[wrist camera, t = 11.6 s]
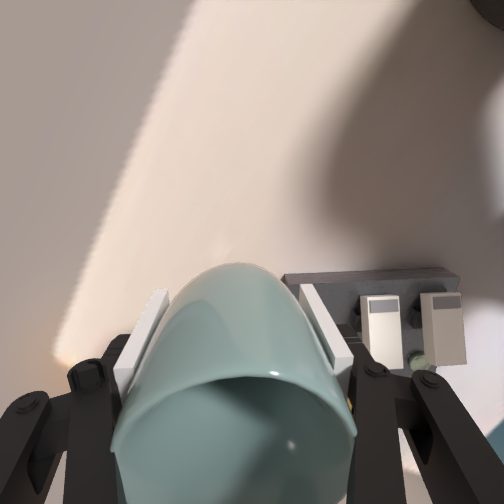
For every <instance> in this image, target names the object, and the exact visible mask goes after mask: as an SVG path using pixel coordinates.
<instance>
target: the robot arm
mask: <svg viewBox="0 0 504 504" xmlns="http://www.w3.org/2000/svg"><path fill="white" fill-rule="evenodd" d="M471 1H472V3H473V5H474V6H475V8H476V9H477V10H478V11H479V13H480V14H481V15H482V16H483V17H484V18H485V19H487V20H488V21H489V22H490V23H492V24H493V25H495V26H497V27H499V28H501V29H504V0H471ZM299 303H300V304H301V306H302V307H303V309H304V311H305V312H306V314H307V316H308V318H309V320H310V322H311V324H312V326H313V328H314V330H315V332H316V334H317V336H318V338H319V340H320V342H321V344H322V346H323V348H324V351H325V353H326V355H327V357H328V359H329V361H330V364H331V366H332V368H333V370H334V373H335V375H336V377H337V379H338V382H339V384H340V386H341V388H342V391H343V393H344V395H345V398H346V400H348V398H349V401H350V403H351V405H352V408H351V412H352V415H353V418H354V421H355V424H356V428H357V435H356V438H355V443H354V448H353V453H352V459H351V464H350V471H349V478H348V485H347V501H346V504H407V503H406V495H405V487H404V478H403V469H402V461H401V452H400V444H399V435H398V428H402V429H403V432H404V434H405V437H406V439H407V442H408V444H409V447H410V449H411V451H412V454H413V456H414V459H415V461H416V464H417V466H418V468H419V471H420V473H421V476H422V478H423V481H424V483H425V485H426V488H427V490H428V493H429V495H430V498H431V500H432V503H433V504H504V465H503V463H502V462H501V460H500V459H499V457H498V456H497V454H496V453H495V451H494V450H493V448H492V447H491V445H490V444H489V443H488V441H487V439H486V438H485V437H484V435H483V434H482V432H481V431H480V429H479V428H478V426H477V425H476V423H475V422H474V420H473V419H472V417H471V416H470V414H469V413H468V411H467V410H466V409H465V407H464V406H463V404H462V403H461V401H460V400H459V398H458V397H457V395H456V394H455V392H454V391H453V389H452V388H451V386H450V385H449V384H448V382H447V381H446V380H445V379H444V378H443V377H441V376H440V375H438V374H437V373H434V372H432V371H429V370H416V371H414V372H413V374H412V377H411V378H410V377H404V376H399V375H395V374H392V373H390V370H389V369H388V368H387V367H386V366H384V365H383V364H381V363H379V362H376V361H375V360H374V359H373V357H372V356H371V354H370V353H369V351H368V350H367V348H366V347H365V345H364V344H363V343H362V340H361V339H360V338H359V336H358V334H357V333H356V331H355V330H354V329H353V328H351V327H350V326H349V325H347V324H335V323H334V321H333V320H332V318H331V316H330V314H329V313H328V311H327V309H326V307H325V306H324V304H323V302H322V300H321V299H320V297H319V295H318V293H317V292H316V290H315V288H314V286H313V284H300V291H299ZM169 305H170V303H169V295H168V289H155V290H154V292H153V294H152V296H151V298H150V299H149V301H148V303H147V305H146V307H145V309H144V311H143V313H142V315H141V317H140V318H139V320H138V322H137V324H136V326H135V328H134V330H133V332H132V334H120V335H118V336H117V337H116V338H115V339H114V340H112V341H111V343H110V344H109V346H108V348H107V350H106V351H105V353H104V354H103V356H102V358H101V359H96V358H93V359H87V360H84V361H82V362H79V363H78V364H76V365H75V366H73V367H72V368H71V369H70V370H69V372H68V374H67V378H68V381H69V385H70V388H71V392H70V393H67V394H64V395H61V396H57V397H54V398H50V399H49V396H48V394H47V393H46V392H44V391H34V392H31V393H27V394H25V395H23V396H21V397H19V398H18V399H16V400H15V401H14V402H12V403H11V405H10V406H9V407H8V408H7V409H6V411H5V412H4V414H3V415H2V417H1V419H0V504H44V502H45V500H46V497H47V494H48V492H49V489H50V486H51V484H52V481H53V478H54V476H55V473H56V470H57V467H58V465H59V462H60V459H61V456H62V454H63V452H64V451H66V450H67V459H66V470H65V484H64V495H63V504H127V502H126V497H125V492H124V488H123V483H122V479H121V474H120V470H119V466H118V463H117V459H116V456H115V452H112V453H111V451H110V444H111V439H112V436H113V433H114V429H115V426H116V423H117V420H118V417H119V414H120V411H121V409H122V406H123V403H124V401H125V398H126V396H127V393H128V391H129V388H130V386H131V384H132V381H133V379H134V376H135V374H136V372H137V369H138V367H139V364H140V362H141V360H142V357H143V355H144V353H145V350H146V348H147V346H148V344H149V341H150V339H151V337H152V335H153V333H154V331H155V329H156V327H157V325H158V323H159V321H160V319H161V318H162V316H163V314H164V313H165V311H166V309H167V308H168V306H169Z"/></svg>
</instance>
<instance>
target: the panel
mask: <svg viewBox="0 0 504 504" xmlns="http://www.w3.org/2000/svg"><path fill="white" fill-rule="evenodd" d="M459 279H460V277H459V276H457V275H456V274H454V273H452V272H450V271H448V270H447V269H445V268H423V269H399V270H374V271H350V272H326V273H302V274H284V284H285V285H286V286H287V287H288V288H289V289H290V291H291V292H292V293H293V295H294V296H295V297H296V299H297V300H298V301H299V291H300V284H313V286H314V288H315V290H316V292H317V293H318V295H319V297H320V299H321V300H322V302H323V304H324V306H325V307H326V309H327V311H328V313H329V314H330V316H331V318H332V320H333V321H334V323H335V324H347V325H349V326H350V327H351V328H353V329H354V330H355V331H356V333H357V334H358V336H359V338H360V339H361V340H362V343H363V339H362V322H361V304H360V296H367V295H387V294H391V295H397V296H399V306H400V322H401V338H402V353H403V369H390V373H392V374H395V375H399V376H404V377H410V378H411V377H412V374H413V372H414V371H416V370H429V371H432V372H434V373H435V372H436V368H437V366H434V365H432V364H430V363H428V362H426V361H425V353H424V340H423V326H422V313H421V300H420V293H430V292H456V291H457V287H458V283H459ZM347 402H348V405H349V407H350V410H351V408H352V405H351V403H350V401H349V398H348V400H347Z"/></svg>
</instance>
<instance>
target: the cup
mask: <svg viewBox="0 0 504 504" xmlns="http://www.w3.org/2000/svg"><path fill="white" fill-rule="evenodd" d="M356 435H357V428H356V424H355V421H354V418H353V415H352V412H351V410H350V407H349V405H348V402H347V400H346V398H345V395H344V393H343V391H342V388H341V386H340V384H339V382H338V379H337V377H336V375H335V373H334V370H333V368H332V366H331V364H330V361H329V359H328V357H327V355H326V353H325V351H324V348H323V346H322V344H321V342H320V340H319V338H318V336H317V334H316V332H315V330H314V328H313V326H312V324H311V322H310V320H309V318H308V316H307V314H306V312H305V311H304V309H303V307H302V306H301V304H300V303H299V301H298V300H297V299H296V297H295V296H294V295H293V293H292V292H291V291H290V289H289V288H288V287H287V286H286V285H285V284H284V283H283V282H282V281H281V280H280V279H279V278H278V277H277V276H275V275H274V274H273V273H271V272H269V271H268V270H266V269H264V268H262V267H260V266H257V265H254V264H251V263H244V262H233V263H225V264H222V265H218V266H215V267H213V268H211V269H209V270H206V271H204V272H202V273H201V274H199V275H198V276H196V277H195V278H194V279H192V280H191V281H189V282H188V283H187V284H186V285H185V286H184V287H183V288H182V289H181V290H180V292H179V293H178V294H177V295H176V296H175V297H174V299H173V300H172V302H171V303H170V305H169V306H168V308H167V309H166V311H165V313H164V314H163V316H162V318H161V319H160V321H159V323H158V325H157V327H156V329H155V331H154V333H153V335H152V337H151V339H150V341H149V344H148V346H147V348H146V350H145V353H144V355H143V357H142V360H141V362H140V364H139V367H138V369H137V372H136V374H135V376H134V379H133V381H132V384H131V386H130V388H129V391H128V393H127V396H126V398H125V401H124V403H123V406H122V409H121V411H120V414H119V417H118V420H117V423H116V426H115V429H114V433H113V436H112V439H111V444H110V451H111V453H112V452H115V456H116V459H117V463H118V466H119V470H120V474H121V479H122V483H123V488H124V492H125V497H126V502H127V504H338V503H339V501H341V500H342V499H343V498H344V497H345V495H346V494H347V485H348V478H349V471H350V464H351V459H352V453H353V448H354V443H355V438H356Z"/></svg>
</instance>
